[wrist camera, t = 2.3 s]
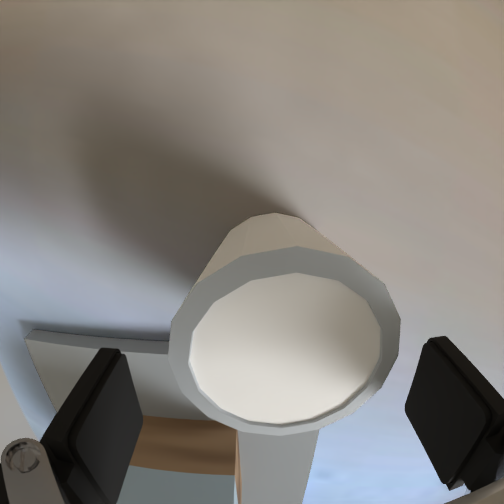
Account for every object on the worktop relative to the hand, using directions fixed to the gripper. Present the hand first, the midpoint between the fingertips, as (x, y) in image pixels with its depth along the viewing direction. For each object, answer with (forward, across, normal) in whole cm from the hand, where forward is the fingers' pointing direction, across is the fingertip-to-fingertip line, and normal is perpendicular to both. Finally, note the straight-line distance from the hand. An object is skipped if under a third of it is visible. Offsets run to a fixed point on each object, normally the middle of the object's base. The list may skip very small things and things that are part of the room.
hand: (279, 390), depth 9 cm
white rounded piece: (+7, 0, -1) cm, 7 cm away
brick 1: (+6, +6, +12) cm, 14 cm away
